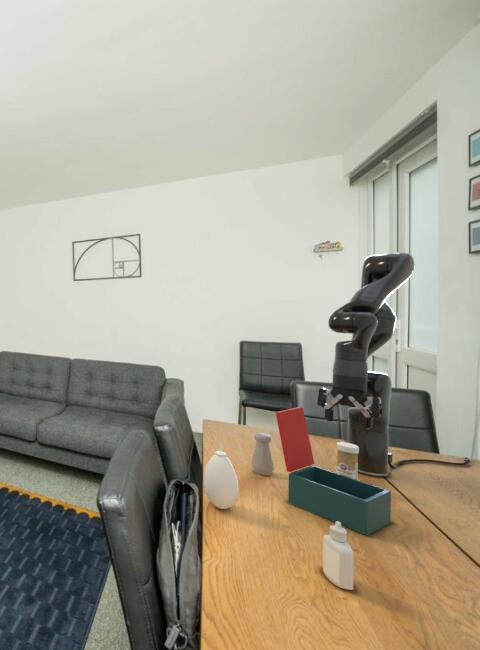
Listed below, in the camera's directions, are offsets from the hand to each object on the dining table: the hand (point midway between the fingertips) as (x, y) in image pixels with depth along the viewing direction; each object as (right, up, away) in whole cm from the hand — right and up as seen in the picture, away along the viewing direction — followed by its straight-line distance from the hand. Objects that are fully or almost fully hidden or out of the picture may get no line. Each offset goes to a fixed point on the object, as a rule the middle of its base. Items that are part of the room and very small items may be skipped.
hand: (347, 425), depth 113 cm
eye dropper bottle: (-45, -19, -40) cm, 63 cm away
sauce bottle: (-51, -18, -14) cm, 56 cm away
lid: (-25, -1, -9) cm, 27 cm away
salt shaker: (-23, -18, +5) cm, 29 cm away
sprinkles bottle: (-6, -18, -5) cm, 19 cm away
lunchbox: (-21, -18, -17) cm, 33 cm away
